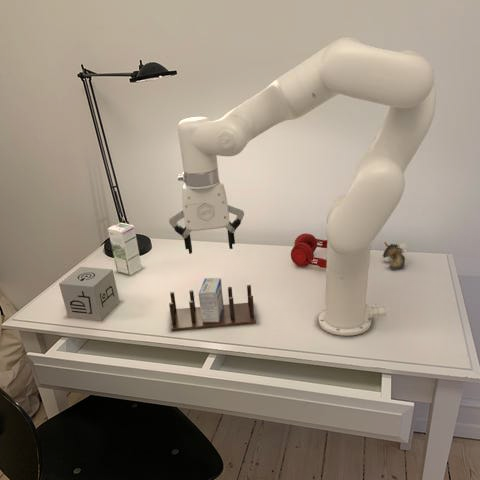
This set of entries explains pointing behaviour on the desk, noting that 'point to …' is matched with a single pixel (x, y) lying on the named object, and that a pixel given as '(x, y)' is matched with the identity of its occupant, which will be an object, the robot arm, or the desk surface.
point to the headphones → (307, 251)
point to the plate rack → (229, 317)
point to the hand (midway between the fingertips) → (210, 249)
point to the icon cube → (89, 293)
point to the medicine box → (211, 300)
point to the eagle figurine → (395, 255)
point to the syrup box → (125, 248)
